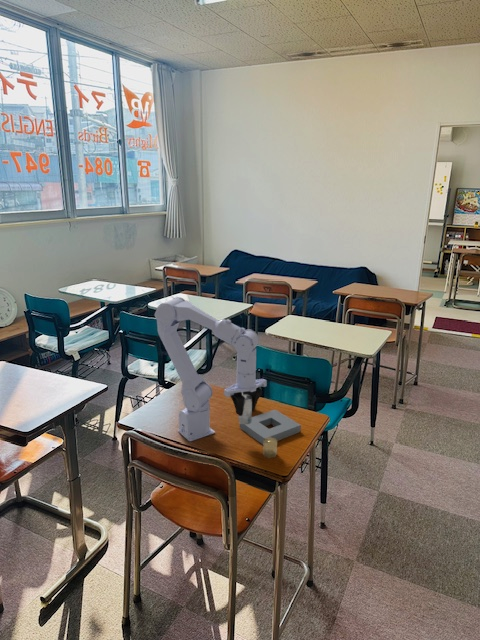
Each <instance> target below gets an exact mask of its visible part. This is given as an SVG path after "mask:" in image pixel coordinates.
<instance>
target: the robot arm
mask: <svg viewBox="0 0 480 640" xmlns="http://www.w3.org/2000/svg"><path fill="white" fill-rule="evenodd" d="M153 316H154V317H155V319H156V325H157V326H156V327H157V329H156V330H157V333H158V337H159V338H160V340H161V342H162V344H163V347H164V348H165V350H166V352H167V354H168V357H169V359H170V360H171V362H172V364H173V367H174V369H175V372H176V373H177V375H178V377H179V378H180V381H181V387H180V388H181V389H180V394H181V395H182V402H183V406H184V407H185V408H184V409H181V410H180V411H179V413H178V430H177V432H179V434H181V435H182V436H183V437H184V438H185V439H186V440H187V441H188V442H193V441H196V440H198V439H201V438H205V437H207V436H211V435H214V434H215V433H216V431H215V430H214V429H212V427H210V426H211V425H210V424H211V420H210V418H211V417H210V415H211V414H210V399H211V398H212V397H213V394H214V393H213V388H212V386H211V385H210V384H209V383H208V382H207V381H206V379H205V377H203V376H201V375H199V374H198V372H197V370H196V367H195V366H194V363H193V361H192V360H191V357H190V355H189V354H188V351H187V349H186V347H185V345H184V343H183V342H182V339H181V337H180V334H179V333H178V331H177V330H178V327H179V326H180V323H181V322H182V321H192V322H193V323H196V324H199V325H200V326H202V327H204V328H206V329H209V330H211V331H212V332H213V334H214V336H215V337H216V338H217V339H220V340H222V341H224V342H225V343H227V344H229V345H231V346H233V348H234V350H235V351H236V383H234V384H232V385H230V386H229V387H227V388H224V389H223V396H225V397H226V398H231V400H232V402H233V405H234V408H235V412H236V415H238V417H239V416H242V413H243V403H244V400H245V397H244V396H242V394H241V392H246V391H247V394H248V395H250V396H252V413H254V412H255V410H256V406H257V403H258V400H259V398H260V397H261V396H262V394H263V390H262V389H261V387H263V388H265V387H267V384H268V383H267V381H268V380H267V379H264V378H259V379H258V378H257V379H256V374H257V373H256V371H257V348H256V347H258V346H259V345H258V344H259V343H260V338H259V335H258V333H257V332H255V331H254V329H249V328H248V329H246V328H245V327H242V326H241V327H240V326H239V325H236V324H234V323H232V320H231V319H229V318H227V319H225V318H222V319H220V320H218V319H216V318H215V317H213V316H212V315H210V314H208V313H206V312H205V311H204V310H202V309H200V308H199V307H196V306H195V305H194V304H193V303H192V302H190V301H189V300H185V298H183V297H180V296H177V297H174V298H173V299H171V300H168V301H165V302H161V303H159V305H158V306H157V307H156V310H155V312H154V315H153Z"/></svg>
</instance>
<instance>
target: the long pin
mask: <svg viewBox="0 0 480 640" xmlns="http://www.w3.org/2000/svg"><path fill="white" fill-rule="evenodd" d="M242 396H244V397H245V400H244V403H243V413H242V416H239V415H238V423H239V424H240V423H241V424H250V423H251V422H252V417H253V415H252V414H253V412H252V396H250V395H242Z"/></svg>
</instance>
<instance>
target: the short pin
mask: <svg viewBox="0 0 480 640" xmlns="http://www.w3.org/2000/svg"><path fill="white" fill-rule="evenodd" d="M262 446H263V447H262V449H263V450H262V455H263V457H264V458H266V457H267V458H266V459H274V458H276V457H277V456H278V455H277V454H278V452H277V451H278V441H277V440H276V439H275V438H272V437H268V438H265V439H264V445H263V444H262ZM276 455H277V456H276ZM273 457H274V458H273Z"/></svg>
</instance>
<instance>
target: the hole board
mask: <svg viewBox="0 0 480 640" xmlns="http://www.w3.org/2000/svg"><path fill="white" fill-rule="evenodd" d="M270 425H272V426H273V427H271V428H268V427H267V426H270ZM301 427H302V425H301V424H300V423H298V421H297V422H296V421H295V420H294V419H292V418H290V417H289V416H287V415H285V414H283V413H282V412H280V411H278V410H277V409H272V410H269V411H267V412H263V413H260V414H258V415H257V414H256V415H255V416H252V422H251V423H250V424H241V423H239V429H240V430H242V431H243V432H244V433H246V434H247V435H248V436H250V437H251V438H253V439H254V440H256V441H257V442H258V443H259V444H261V445H262V446H263V445H264V439H265V438H268V437H272V438H275V439H276V440H277V442H279V441H280V440H284V439H286V438H288V437H291V436H294V435H296V434H298V433H301V430H302V428H301Z"/></svg>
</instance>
